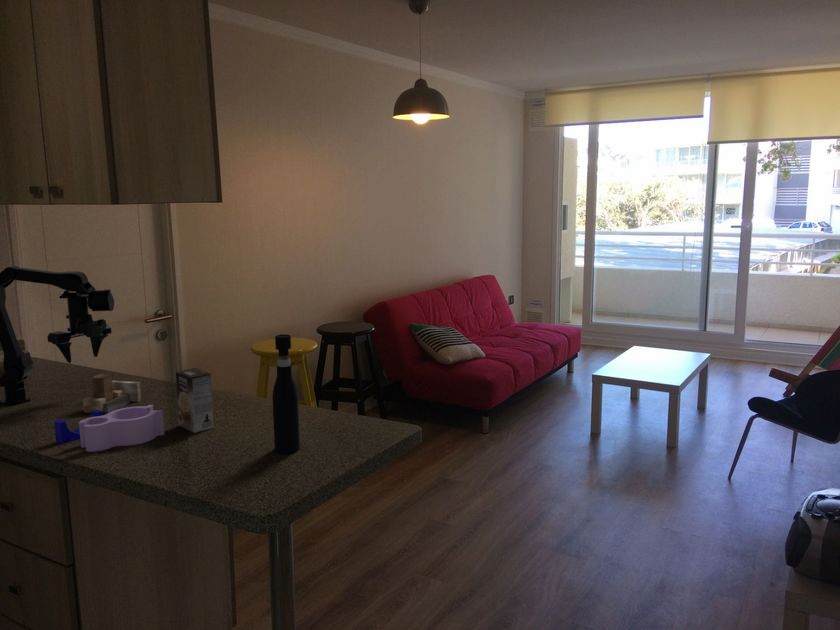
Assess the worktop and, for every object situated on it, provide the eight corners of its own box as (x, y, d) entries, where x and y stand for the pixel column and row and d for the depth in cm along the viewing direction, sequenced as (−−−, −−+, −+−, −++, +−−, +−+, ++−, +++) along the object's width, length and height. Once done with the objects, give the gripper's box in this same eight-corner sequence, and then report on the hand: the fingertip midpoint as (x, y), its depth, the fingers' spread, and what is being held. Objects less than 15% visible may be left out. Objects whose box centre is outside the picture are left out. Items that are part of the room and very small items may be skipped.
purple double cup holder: (92, 456, 172) (89, 430, 171) (75, 443, 181) (73, 418, 180) (168, 436, 186) (167, 412, 185) (150, 426, 195) (148, 402, 194)
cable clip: (95, 428, 193) (93, 408, 192) (104, 431, 190) (102, 411, 189) (53, 441, 183) (50, 420, 182) (62, 444, 180) (60, 423, 179)
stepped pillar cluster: (72, 411, 208) (70, 392, 206) (102, 397, 221) (100, 379, 220) (113, 414, 205) (111, 394, 204) (141, 400, 219) (139, 382, 218)
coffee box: (177, 425, 194) (174, 371, 192) (198, 420, 199) (195, 367, 196) (194, 433, 188) (190, 377, 185) (215, 427, 193) (211, 372, 190)
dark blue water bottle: (287, 455, 172) (283, 339, 167) (269, 450, 175) (264, 336, 170) (304, 447, 177) (301, 335, 172) (286, 443, 181) (282, 332, 176)
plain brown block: (94, 408, 210) (91, 377, 208) (102, 405, 214) (100, 374, 212) (106, 409, 209) (103, 378, 208) (114, 405, 213) (111, 374, 211)
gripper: (66, 318, 203) (71, 369, 206) (120, 309, 219) (124, 356, 222) (44, 315, 209) (49, 364, 212) (98, 306, 225) (102, 352, 228)
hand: (82, 359), depth 218 cm, fingers open, 9 cm apart
